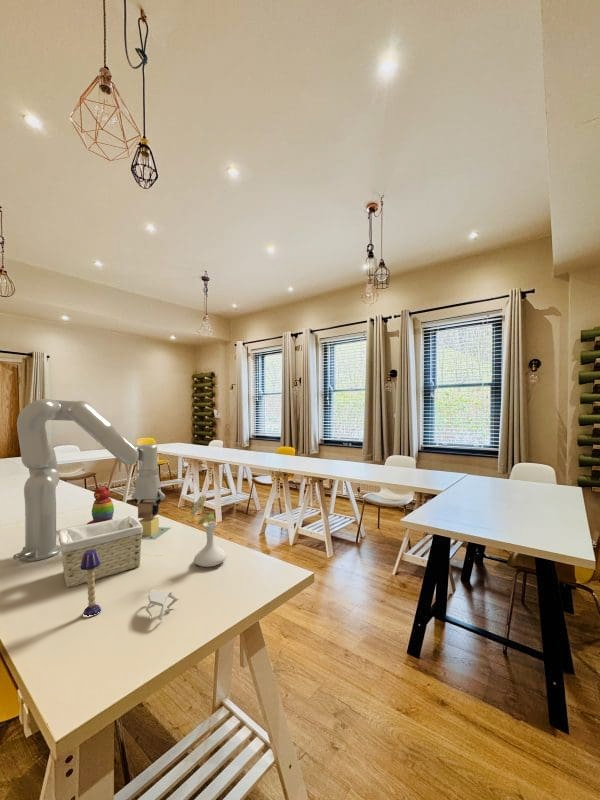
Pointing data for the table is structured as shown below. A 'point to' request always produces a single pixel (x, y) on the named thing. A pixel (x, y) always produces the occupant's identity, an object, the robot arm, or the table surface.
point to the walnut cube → (146, 509)
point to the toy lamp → (91, 580)
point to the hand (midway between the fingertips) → (148, 513)
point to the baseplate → (156, 534)
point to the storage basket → (101, 548)
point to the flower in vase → (208, 540)
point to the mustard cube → (150, 525)
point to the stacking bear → (102, 506)
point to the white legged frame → (160, 599)
